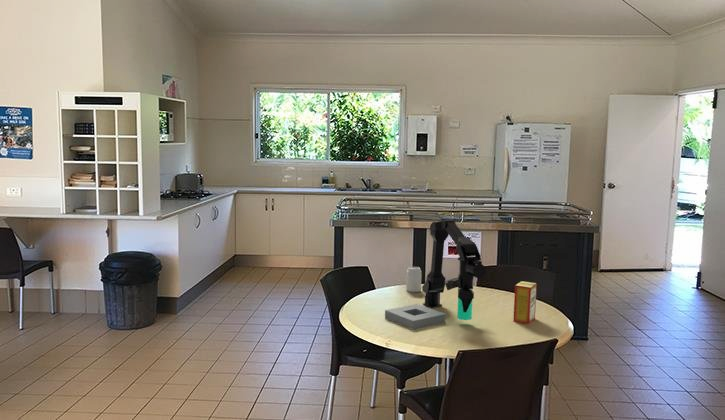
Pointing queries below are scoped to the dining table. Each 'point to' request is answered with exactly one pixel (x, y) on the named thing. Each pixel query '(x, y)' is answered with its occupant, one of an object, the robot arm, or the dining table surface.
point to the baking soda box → (525, 302)
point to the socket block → (415, 316)
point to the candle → (462, 314)
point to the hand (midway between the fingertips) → (464, 309)
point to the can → (413, 279)
